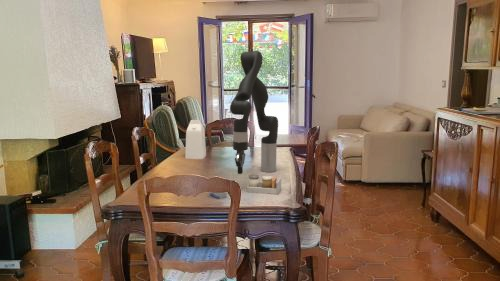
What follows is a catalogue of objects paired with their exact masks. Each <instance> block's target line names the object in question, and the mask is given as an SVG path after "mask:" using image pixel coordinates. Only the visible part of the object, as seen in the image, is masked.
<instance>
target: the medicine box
mask: <svg viewBox="0 0 500 281" xmlns="http://www.w3.org/2000/svg"><path fill="white" fill-rule="evenodd" d="M209 196H211V197H214V198H216V199H219V200H221V199H225V198H226V197H227V193H210V192H209Z"/></svg>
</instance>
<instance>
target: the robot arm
mask: <svg viewBox="0 0 500 281" xmlns="http://www.w3.org/2000/svg"><path fill="white" fill-rule="evenodd" d="M239 57H240V58H239V59H240V64H241V67H242V70H243V73H244V75H245V76H244V77H243V78H242V79H241V81H240V83H239V85H238V89H237V93H236V95H235V96H234V98H233V99H232V100H231V102H230V106H229V110H230V112H231V114H232V115H235V116H237V115H239V116H242V118H239V119H235V120H233V135H232V149H233V151H236V153H235V158H234V162H235V166H236V167H237V174H238V175H242V174H243V173H244V172H243V169H244V168H243V167H244V165H245V160H246V153H245V151H248V149H249V135H248V129H249V128H248V127H249V125H248V124H249V119H250V115H251V113H252V104H251V103H250V101H249V100H250V99H252V101H253V105H254V109H255V114H256V120H257V124H258V127H259V130H261V131H262V132H268V135H266V136H263V137H262V138H261V140H260V142H261V143H260V144H261V145H260V146H261V147H260V149H261V150H260V151H261V152H260V171H261V172H263V173H264V172H265V173H274V172H277V144H278V141H277V140H278V133H279V132H278V130H279V119H278V117H277V116H274V115H273V116H272V115H266V112H265V108H266V105H267V103H268V101H269V93H268V90H267V86H266V84H265V83H264V82H263V81H262V80H261V79H260V78H259V77H258V75H259V73H260V70H261V68H262V65H263V60H264V59H263V55H262V52H261V51H259V50H252V51H249V50H248V51H243V52H242V53H240V56H239Z"/></svg>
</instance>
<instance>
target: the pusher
mask: <svg viewBox="0 0 500 281" xmlns="http://www.w3.org/2000/svg"><path fill="white" fill-rule="evenodd" d="M277 178H278V177H277V176H274V177H272V188H273V189H276V183H277V181H278V179H277Z"/></svg>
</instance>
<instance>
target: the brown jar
mask: <svg viewBox="0 0 500 281" xmlns="http://www.w3.org/2000/svg"><path fill="white" fill-rule="evenodd" d="M272 180H273V176H271V175H262V176H261V182H262V187H261V188H272Z"/></svg>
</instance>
